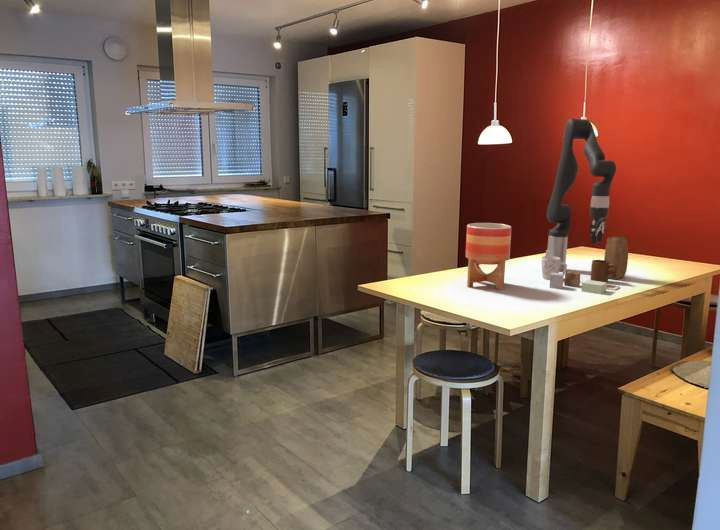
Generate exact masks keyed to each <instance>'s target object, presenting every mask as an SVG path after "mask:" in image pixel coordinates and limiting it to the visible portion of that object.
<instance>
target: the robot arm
mask: <svg viewBox="0 0 720 530" xmlns="http://www.w3.org/2000/svg"><path fill="white" fill-rule="evenodd" d="M574 139H575V140H584V141H585V144H584V147H583V153H584V155H585V158H586V159H587V161H588V165H589V173H590V174H591V175H592V176H594V177H600V178H601V177H603V178H602V180H600V181H596V182H595V183H593V184H592V191H591V200H590V207H589V216H590V218H593V220H591V221H590V224H589V225H590V226H589V235H590V236H591V237H590V238H591V239H590V244H592V245H596V244H597V242H603V236H604V235H603V234H604V233H605V231H606V220H607V219H606V218H608V217H609V211H610V193H611V192H610V191H611V190H610V189H611V186H612V183H613V181H614V180H613V179H614V177H615V175H616V171H617V165H616V163H615V161H613V160H611V159H610V160H605V159H606V155H605V153H604V151H603V149H602V148H601V146H600V145H599V142H598V139H597V136H596V133H595V130H594V127H593V125H592V123H591V121H590V120H588V119H584V118H583V119H582V118H570V119H568V120H567V122H566V124H565V128H564V134H563V141H562V148H561V153H560V154H561V155H560V158H559V161H558V162H559V163H558V167H557V171H556V175H555V176H556V177H555V181H554V185H553V191H552V194H551V197H550V199H549V202H548V206H547V210H546V219H547V221H548V222H549V223H551V224H556V225H555V226H554V227H553V228H551V229H549V231H548V240H547V249H546V250H545V256H553V257H559V258H560V259H561V262H564V263H566V264H567V253H568V252H567V250H568V237H569V232H570V230H571V223H572V217H573V216H572V214H573V213H572V208H571V206H570V205H569V204H566V203H565V204H563V203H562V202H563V198H564V197H565V196H566V194H567V192H568V191H569V190H570V189H571V188H572V187H573V185H574V184H575V182H576V180H577V176H578V175H577V174H578V172H579V171H578V170H579V163H578V161H577V158H576V156H575V153H574V145H573V144H574ZM563 270H564V265H560V267H559V272H561V271H562V272H563Z"/></svg>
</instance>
